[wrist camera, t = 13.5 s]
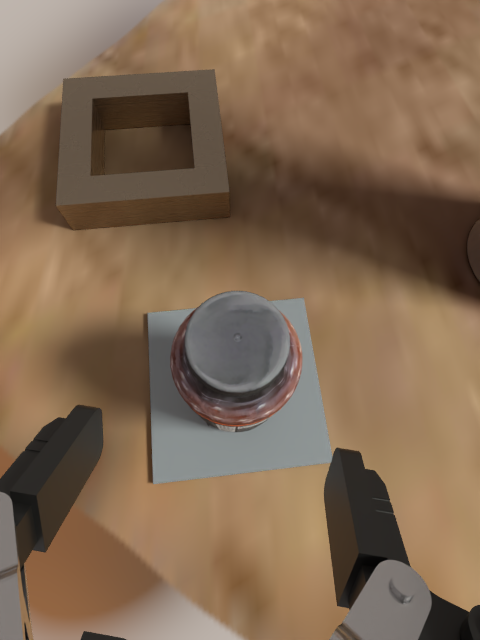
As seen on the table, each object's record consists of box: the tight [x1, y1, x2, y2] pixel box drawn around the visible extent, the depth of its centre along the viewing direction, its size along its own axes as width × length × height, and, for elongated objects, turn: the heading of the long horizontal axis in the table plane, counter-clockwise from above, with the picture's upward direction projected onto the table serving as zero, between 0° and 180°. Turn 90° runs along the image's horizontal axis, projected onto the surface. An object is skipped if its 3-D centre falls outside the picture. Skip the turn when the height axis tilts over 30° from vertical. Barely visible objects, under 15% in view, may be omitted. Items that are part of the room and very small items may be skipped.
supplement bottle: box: [170, 291, 303, 432], centre depth 19 cm, size 6×6×11 cm
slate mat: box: [148, 298, 332, 484], centre depth 25 cm, size 11×11×1 cm
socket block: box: [56, 69, 230, 230], centre depth 30 cm, size 12×12×3 cm
